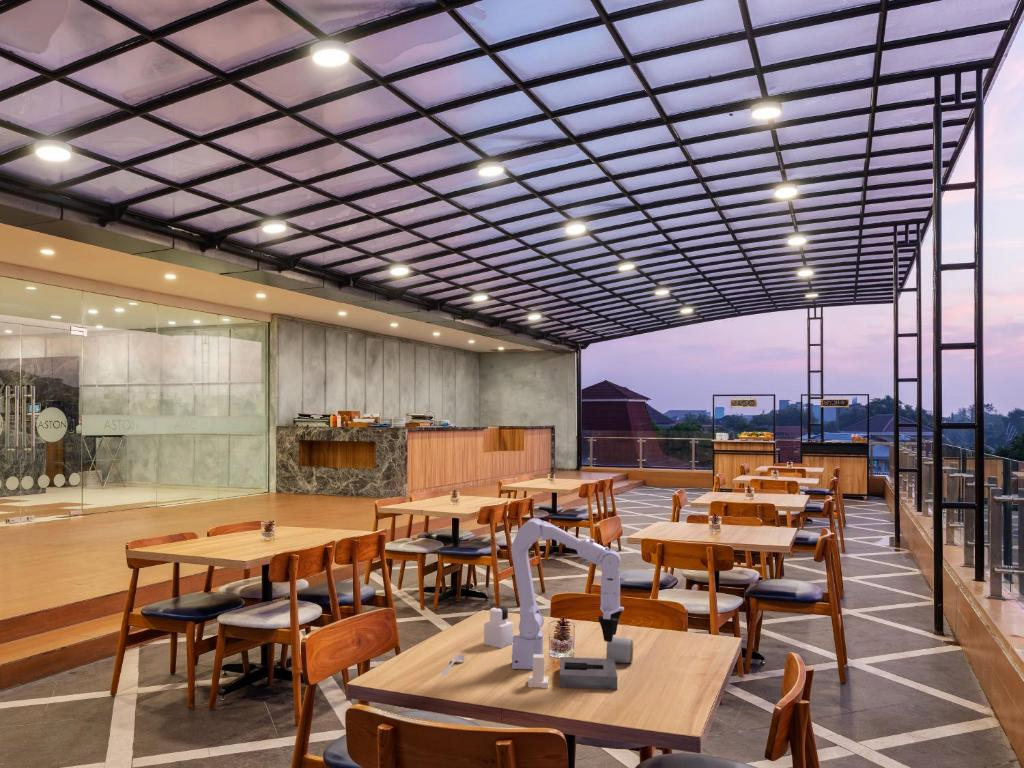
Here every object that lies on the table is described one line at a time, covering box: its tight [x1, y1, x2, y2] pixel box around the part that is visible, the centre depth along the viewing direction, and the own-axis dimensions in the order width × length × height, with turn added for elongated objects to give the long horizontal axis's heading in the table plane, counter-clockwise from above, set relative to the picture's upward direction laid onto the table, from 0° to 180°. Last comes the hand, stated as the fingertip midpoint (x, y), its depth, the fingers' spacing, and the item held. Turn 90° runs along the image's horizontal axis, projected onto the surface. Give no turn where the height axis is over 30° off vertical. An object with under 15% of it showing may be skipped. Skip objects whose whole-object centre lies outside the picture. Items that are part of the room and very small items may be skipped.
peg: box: [527, 653, 550, 689], centre depth 215 cm, size 6×6×8 cm
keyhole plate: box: [559, 656, 618, 691], centre depth 220 cm, size 16×16×4 cm
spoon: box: [440, 654, 466, 677], centre depth 228 cm, size 4×21×2 cm, turn 165°
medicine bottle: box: [483, 606, 514, 649], centre depth 253 cm, size 7×7×12 cm
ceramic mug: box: [605, 635, 634, 664], centre depth 237 cm, size 11×8×8 cm
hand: (610, 637), depth 227 cm, fingers open, 7 cm apart
